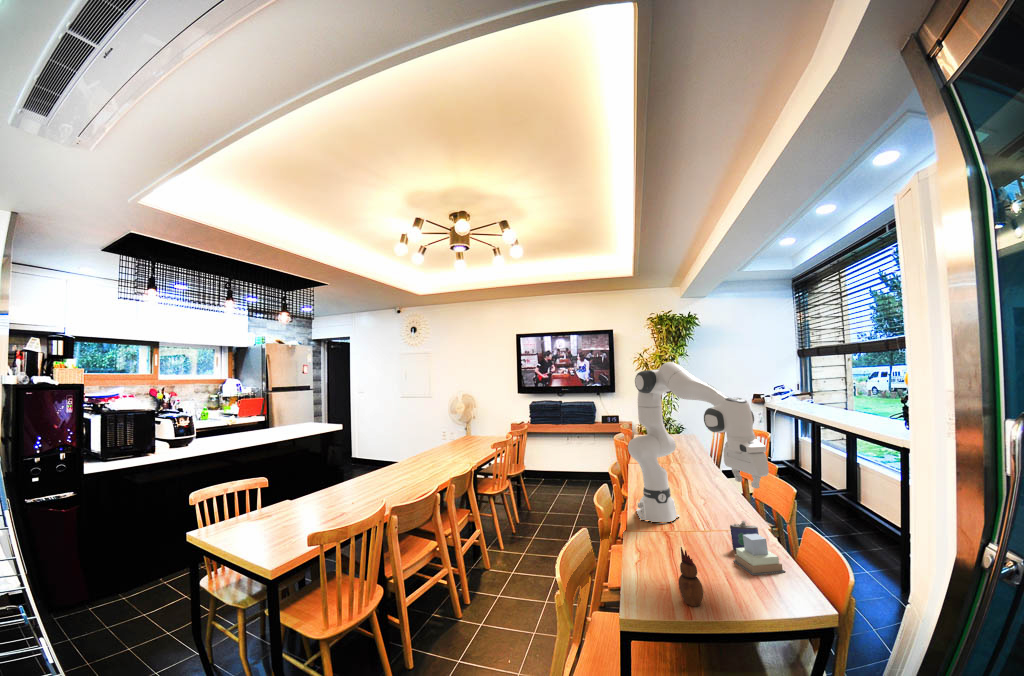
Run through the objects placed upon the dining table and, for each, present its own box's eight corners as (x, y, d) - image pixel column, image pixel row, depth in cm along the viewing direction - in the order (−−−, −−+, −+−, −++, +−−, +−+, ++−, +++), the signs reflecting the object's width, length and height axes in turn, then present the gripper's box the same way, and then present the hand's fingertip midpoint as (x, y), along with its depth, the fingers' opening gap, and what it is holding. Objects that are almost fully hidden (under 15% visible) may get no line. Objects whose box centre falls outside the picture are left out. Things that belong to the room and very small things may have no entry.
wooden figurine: (677, 598, 121) (671, 545, 122) (695, 596, 121) (689, 543, 123) (688, 610, 114) (682, 554, 116) (708, 608, 114) (701, 552, 116)
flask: (760, 550, 149) (756, 520, 150) (762, 553, 146) (757, 523, 148) (732, 548, 152) (728, 519, 154) (733, 551, 150) (729, 521, 151)
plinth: (735, 560, 142) (733, 547, 142) (762, 557, 142) (761, 545, 143) (753, 573, 132) (751, 559, 132) (782, 570, 132) (780, 556, 133)
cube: (744, 549, 140) (742, 534, 140) (758, 548, 140) (756, 533, 141) (753, 555, 135) (751, 540, 136) (768, 554, 135) (766, 538, 136)
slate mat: (733, 561, 142) (733, 559, 142) (763, 558, 143) (763, 557, 143) (753, 575, 131) (752, 574, 131) (785, 572, 132) (785, 571, 132)
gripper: (716, 440, 152) (721, 478, 150) (750, 448, 132) (756, 492, 130) (733, 439, 152) (738, 477, 151) (769, 447, 132) (775, 491, 130)
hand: (747, 484), depth 140 cm, fingers open, 8 cm apart
